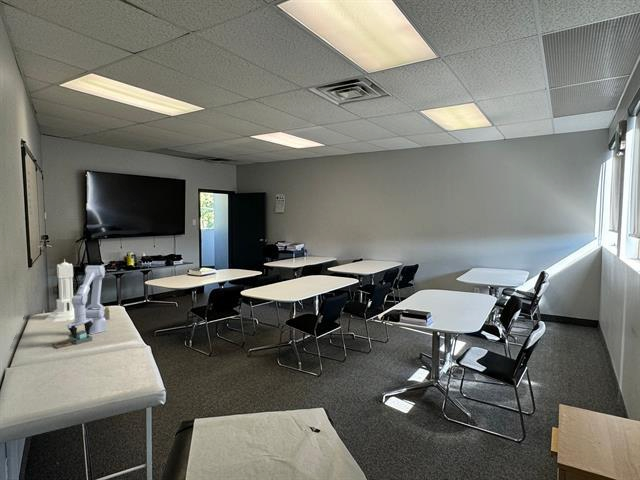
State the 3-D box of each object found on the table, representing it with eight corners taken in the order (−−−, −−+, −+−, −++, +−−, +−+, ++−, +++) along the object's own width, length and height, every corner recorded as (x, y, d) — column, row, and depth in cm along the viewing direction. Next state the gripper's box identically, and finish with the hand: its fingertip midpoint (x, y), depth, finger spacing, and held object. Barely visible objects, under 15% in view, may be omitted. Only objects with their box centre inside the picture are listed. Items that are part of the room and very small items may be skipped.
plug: (82, 339, 224) (82, 330, 223) (86, 340, 222) (86, 331, 222) (75, 341, 220) (75, 332, 219) (80, 342, 218) (79, 333, 218)
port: (83, 336, 229) (83, 330, 229) (92, 340, 221) (91, 334, 221) (68, 339, 222) (68, 333, 222) (76, 344, 215) (76, 338, 214)
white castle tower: (93, 316, 274) (90, 258, 271) (47, 324, 254) (43, 261, 251) (84, 309, 294) (82, 255, 291) (41, 316, 274) (38, 257, 271)
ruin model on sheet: (109, 319, 269) (108, 306, 268) (109, 320, 266) (109, 307, 266) (91, 321, 262) (90, 308, 262) (91, 322, 260) (91, 309, 259)
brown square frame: (67, 342, 218) (67, 340, 218) (71, 345, 214) (71, 343, 214) (52, 345, 212) (52, 344, 212) (57, 348, 208) (56, 347, 208)
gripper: (87, 310, 228) (88, 331, 229) (63, 316, 215) (64, 339, 216) (94, 312, 225) (95, 333, 226) (71, 318, 212) (72, 340, 213)
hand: (81, 336), depth 221 cm, fingers open, 7 cm apart
